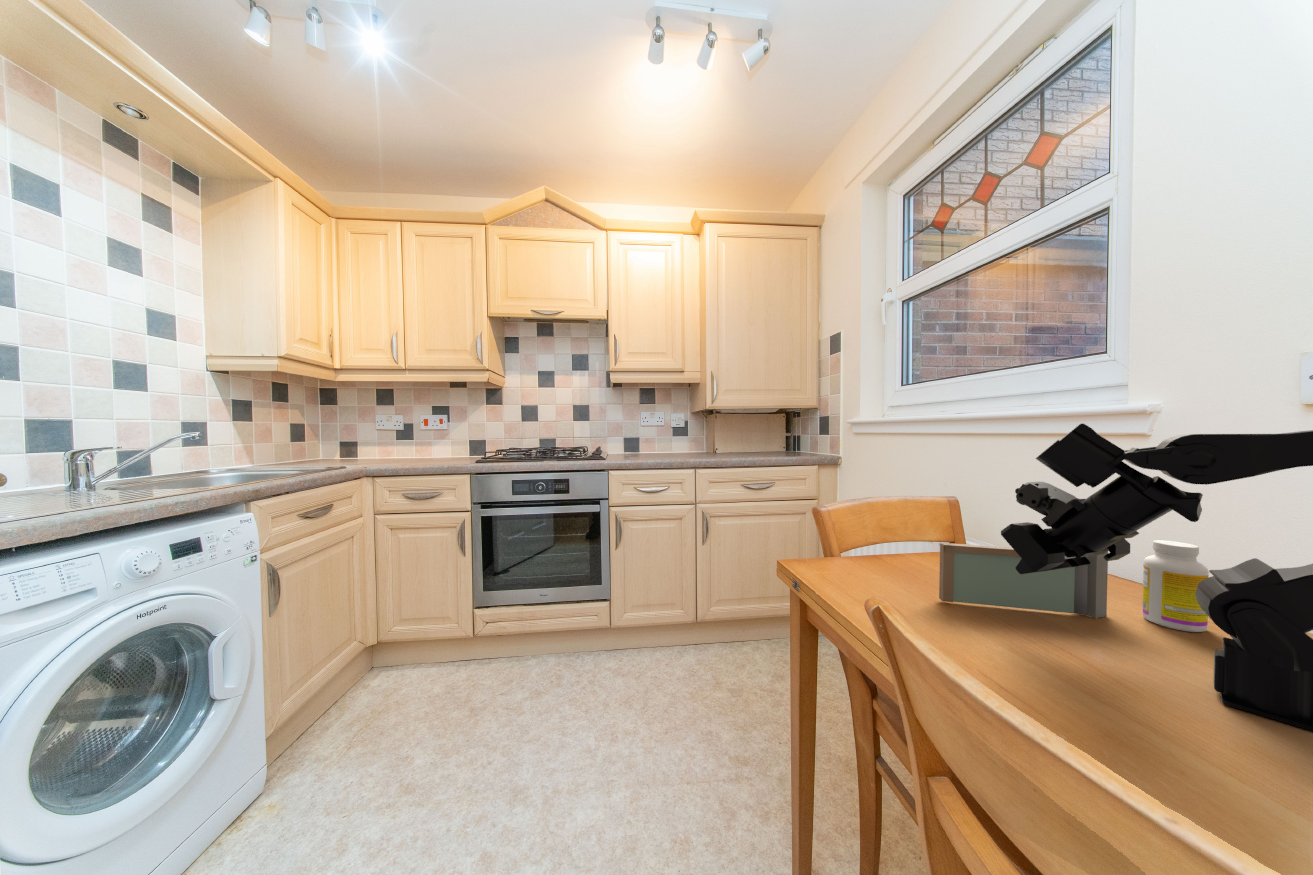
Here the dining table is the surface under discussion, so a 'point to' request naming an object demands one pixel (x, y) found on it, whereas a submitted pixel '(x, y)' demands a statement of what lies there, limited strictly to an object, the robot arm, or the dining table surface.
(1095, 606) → the gatepost
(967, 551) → the gate
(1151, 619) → the supplement bottle
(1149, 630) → the dining table surface
